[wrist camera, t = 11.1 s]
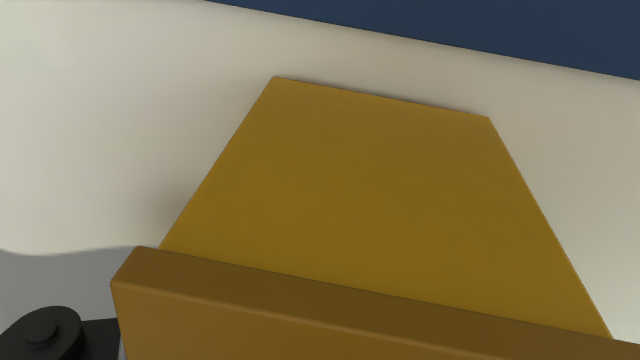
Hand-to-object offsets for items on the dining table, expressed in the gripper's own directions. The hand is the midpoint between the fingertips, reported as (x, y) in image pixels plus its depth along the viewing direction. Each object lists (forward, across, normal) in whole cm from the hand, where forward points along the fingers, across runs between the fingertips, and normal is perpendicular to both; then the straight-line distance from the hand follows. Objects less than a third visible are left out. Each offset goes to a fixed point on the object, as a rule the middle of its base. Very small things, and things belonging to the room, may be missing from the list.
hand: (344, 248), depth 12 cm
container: (+1, 0, 0) cm, 1 cm away
